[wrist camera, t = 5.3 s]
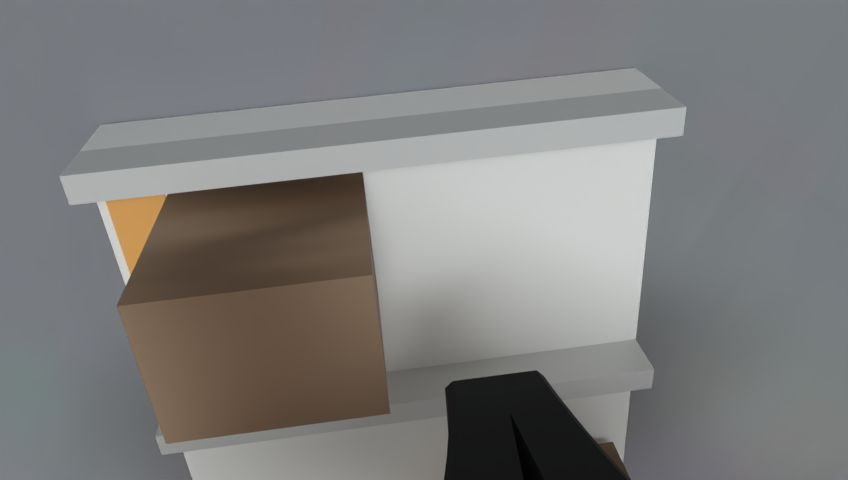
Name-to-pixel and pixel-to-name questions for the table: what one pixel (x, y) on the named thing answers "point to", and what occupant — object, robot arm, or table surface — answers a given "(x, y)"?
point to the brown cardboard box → (258, 309)
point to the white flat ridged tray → (434, 246)
